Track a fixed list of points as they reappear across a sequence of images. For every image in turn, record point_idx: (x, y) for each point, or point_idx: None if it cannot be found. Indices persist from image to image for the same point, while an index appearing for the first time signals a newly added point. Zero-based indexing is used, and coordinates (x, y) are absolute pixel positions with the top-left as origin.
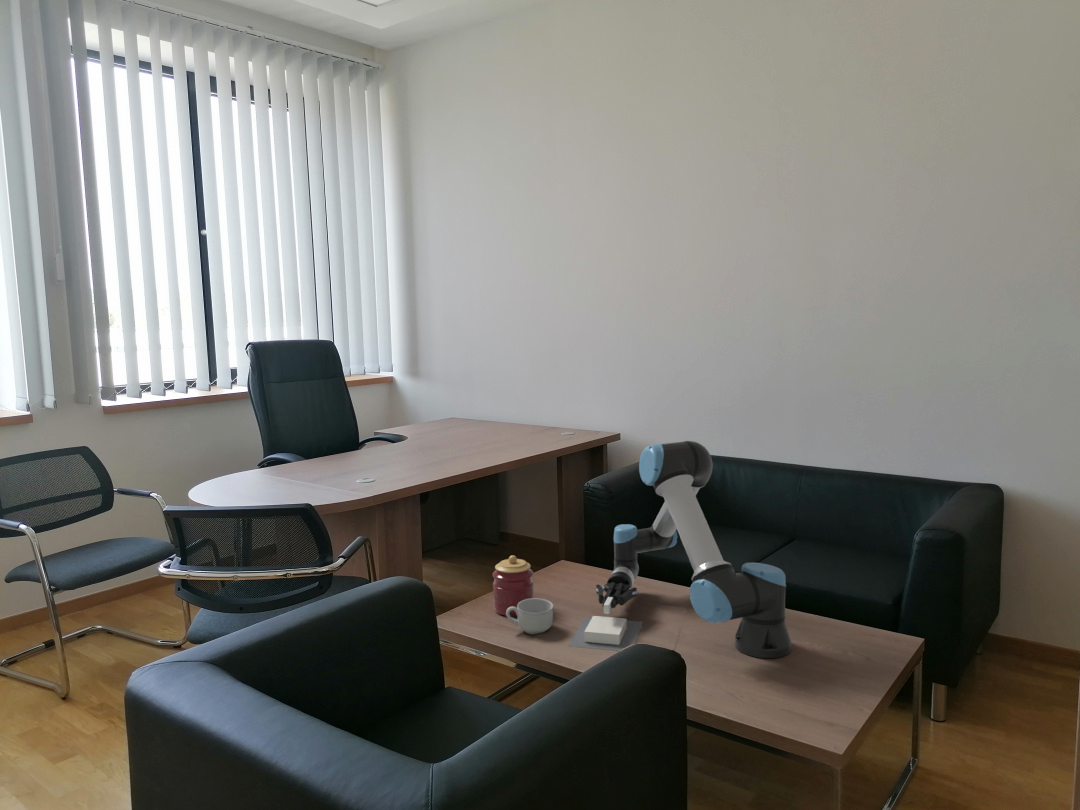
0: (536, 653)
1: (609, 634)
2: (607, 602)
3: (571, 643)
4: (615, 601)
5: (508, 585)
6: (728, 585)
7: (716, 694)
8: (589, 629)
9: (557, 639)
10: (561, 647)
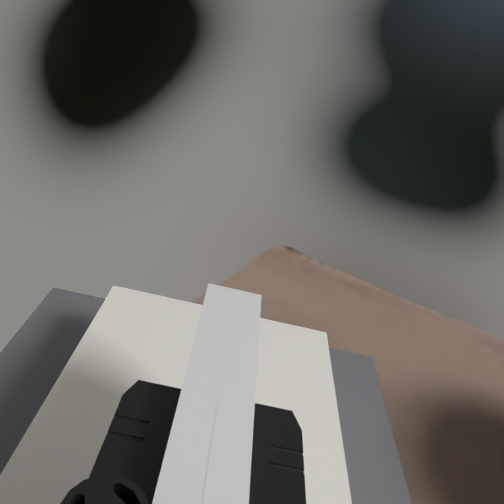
0: (462, 334)
1: (173, 302)
2: (228, 332)
3: (368, 378)
4: (110, 440)
5: None
6: None
7: None
8: (305, 351)
9: (471, 450)
10: (399, 369)
